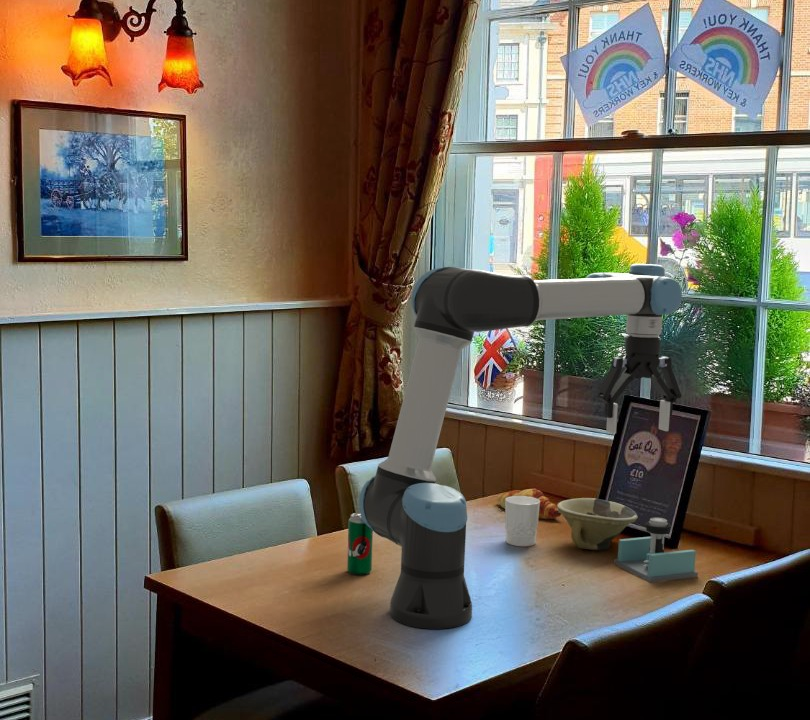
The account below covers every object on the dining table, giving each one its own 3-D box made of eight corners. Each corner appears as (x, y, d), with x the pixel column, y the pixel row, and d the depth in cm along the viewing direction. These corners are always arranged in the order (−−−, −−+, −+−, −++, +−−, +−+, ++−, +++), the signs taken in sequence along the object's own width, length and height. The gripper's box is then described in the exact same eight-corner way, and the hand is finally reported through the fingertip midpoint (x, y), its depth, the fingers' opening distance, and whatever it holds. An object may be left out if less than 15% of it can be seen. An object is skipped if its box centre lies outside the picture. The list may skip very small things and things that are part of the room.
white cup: (543, 541, 245) (545, 499, 244) (528, 549, 238) (530, 506, 237) (513, 535, 249) (515, 494, 248) (497, 543, 242) (499, 500, 241)
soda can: (376, 572, 219) (378, 515, 217) (359, 577, 215) (360, 520, 214) (359, 566, 222) (361, 510, 221) (341, 571, 218) (343, 515, 217)
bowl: (602, 564, 230) (605, 521, 228) (540, 544, 243) (542, 503, 242) (651, 550, 241) (653, 509, 240) (588, 531, 255) (591, 492, 253)
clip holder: (650, 582, 218) (651, 556, 217) (614, 563, 230) (615, 539, 229) (697, 576, 223) (699, 551, 222) (659, 558, 235) (661, 534, 234)
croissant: (489, 519, 276) (480, 494, 273) (512, 496, 282) (504, 472, 279) (553, 536, 261) (544, 510, 258) (576, 511, 267) (568, 486, 263)
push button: (654, 571, 222) (657, 525, 221) (633, 565, 226) (636, 519, 225) (673, 566, 226) (676, 520, 225) (653, 559, 230) (656, 515, 229)
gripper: (603, 337, 222) (598, 436, 225) (701, 336, 232) (695, 432, 234) (584, 333, 229) (579, 430, 232) (680, 333, 238) (674, 426, 241)
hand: (637, 431), depth 233 cm, fingers open, 13 cm apart
